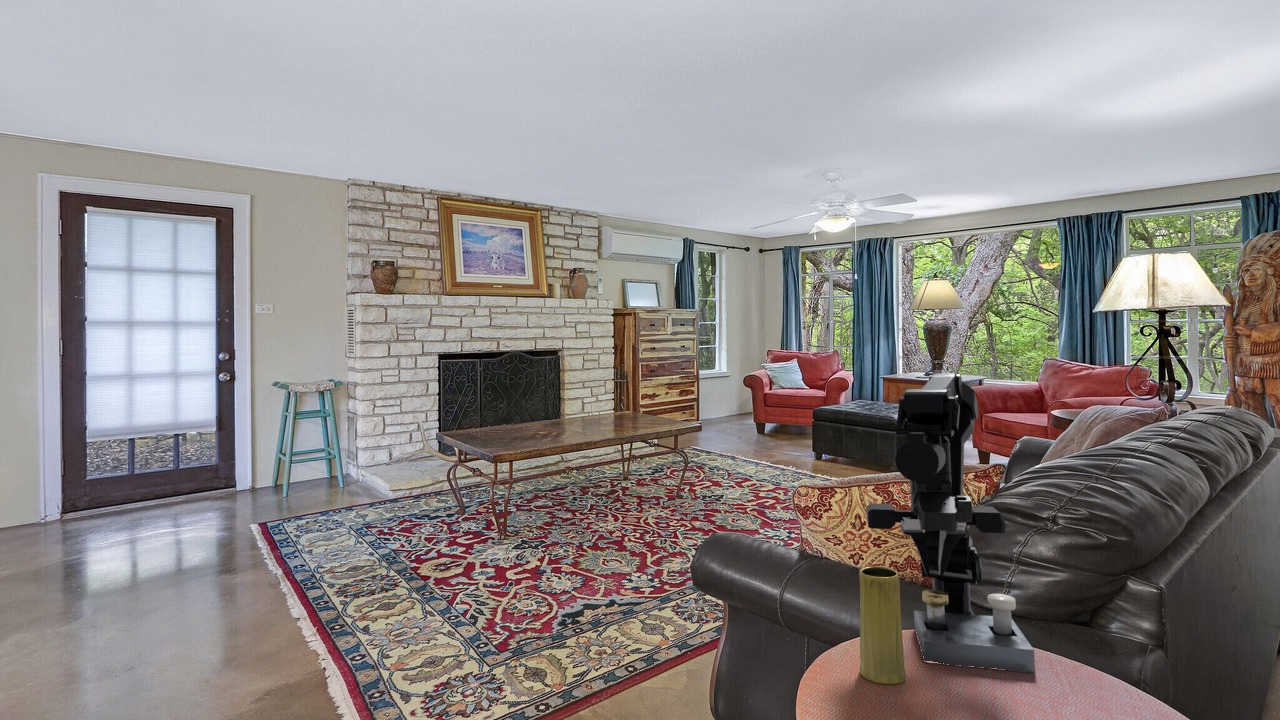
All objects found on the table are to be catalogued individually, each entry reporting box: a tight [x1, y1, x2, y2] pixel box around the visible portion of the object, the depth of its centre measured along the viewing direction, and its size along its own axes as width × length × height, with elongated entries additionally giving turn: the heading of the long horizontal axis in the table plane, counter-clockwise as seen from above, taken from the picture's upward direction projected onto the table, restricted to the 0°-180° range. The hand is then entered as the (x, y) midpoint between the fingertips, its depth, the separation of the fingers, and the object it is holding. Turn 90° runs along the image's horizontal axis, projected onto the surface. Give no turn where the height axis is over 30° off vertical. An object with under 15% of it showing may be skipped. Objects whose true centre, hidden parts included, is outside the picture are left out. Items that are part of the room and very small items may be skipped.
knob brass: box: [921, 589, 949, 629], centre depth 98 cm, size 4×4×5 cm
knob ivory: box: [987, 593, 1017, 635], centre depth 95 cm, size 4×4×5 cm
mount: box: [913, 610, 1036, 674], centre depth 96 cm, size 12×14×3 cm
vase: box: [858, 565, 907, 686], centre depth 90 cm, size 6×6×14 cm
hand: (934, 574), depth 98 cm, fingers closed
